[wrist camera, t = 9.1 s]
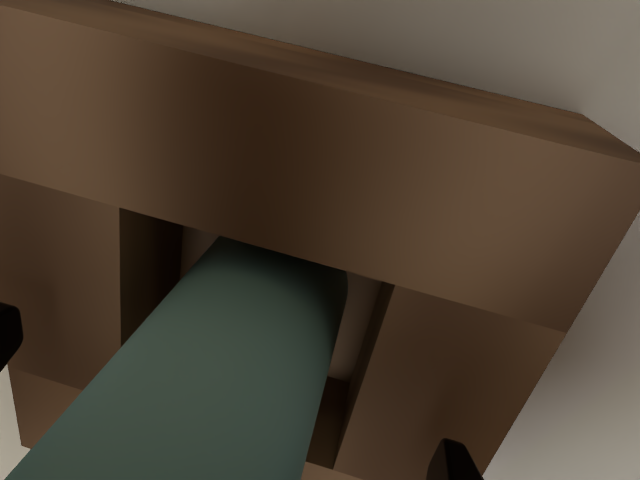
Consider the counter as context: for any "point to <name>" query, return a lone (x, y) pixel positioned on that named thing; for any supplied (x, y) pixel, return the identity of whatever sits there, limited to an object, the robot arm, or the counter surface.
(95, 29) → the socket block
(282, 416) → the pin
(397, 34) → the counter surface
